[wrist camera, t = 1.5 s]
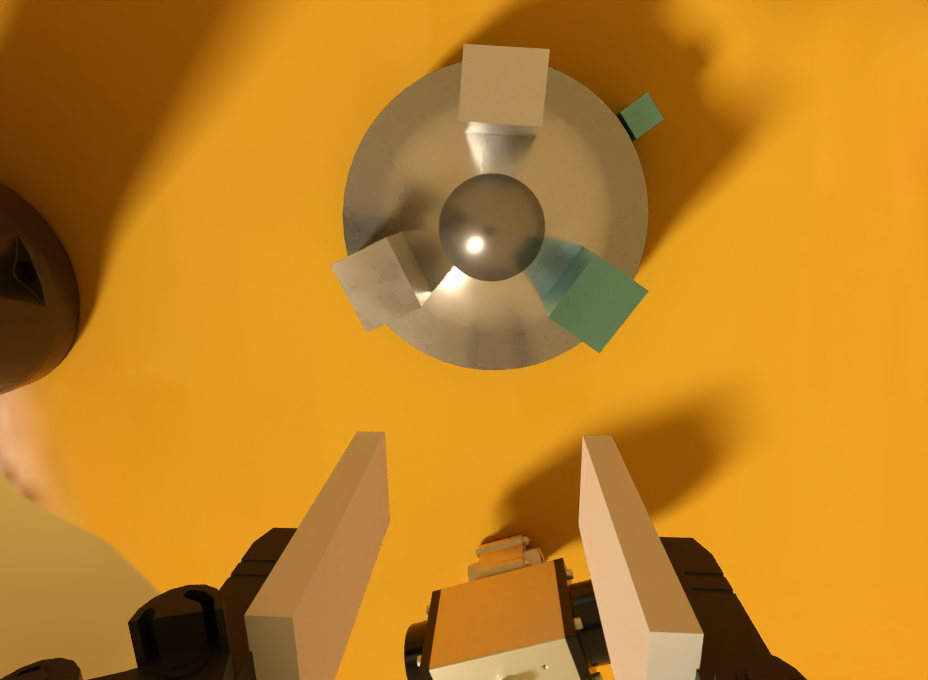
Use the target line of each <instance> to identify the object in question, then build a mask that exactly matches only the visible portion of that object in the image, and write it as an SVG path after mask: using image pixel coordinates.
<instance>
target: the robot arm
mask: <svg viewBox="0 0 928 680" xmlns="http://www.w3.org/2000/svg"><path fill="white" fill-rule="evenodd" d="M78 316H79V299H78V291H77V285H76V280H75V276H74V273H73V270H72V267H71V264H70V262H69V259H68V257H67V255H66V252H65V250H64V249H63V247H62V245H61V243H60V241H59V240H58V238H57V236H56V235H55V233H54V232H53V231H52V229H51V228H50V226H49V225H48V224H47V223H46V221H45V220H44V219H43V218H42V217H41V216H40V215H39V213H38V212H37V211H36V210H35V209H34V208H33V207H32V206H30V205H29V204H28V203H27V202H26V201H25V200H23V199H22V198H21V197H20V196H18V195H17V194H16V193H14V192H13V191H11V190H10V189H8V188H6V187H5V186H3V185H1V184H0V395H1V394H4V393H7V392H10V391H12V390H15V389H17V388H20V387H22V386H25V385H28V384H30V383H33V382H35V381H37V380H39V379H41V378H42V377H44V376H46V375H47V374H48V373H50V372H51V371H52V370H53V369H54V368H55V367H56V366H57V365H58V364H59V363H60V362H61V361H62V359H63V358H64V357H65V355H66V354H67V352H68V350H69V348H70V346H71V344H72V342H73V339H74V336H75V333H76V329H77V324H78ZM389 522H390V513H389V496H388V479H387V462H386V445H385V432H357V433H356V435H355V436H354V438H353V439H352V441H351V443H350V444H349V446H348V448H347V449H346V451H345V452H344V454H343V456H342V457H341V459H340V461H339V462H338V464H337V465H336V467H335V469H334V470H333V472H332V474H331V475H330V477H329V478H328V480H327V482H326V483H325V485H324V487H323V488H322V490H321V491H320V493H319V495H318V496H317V498H316V500H315V501H314V503H313V504H312V506H311V508H310V509H309V511H308V513H307V514H306V516H305V517H304V519H303V521H302V522H301V524H300V526H299V527H298V528H272V529H271V530H270V531H268V532H267V533H266V534H264V535H263V536H262V537H260V538H259V539H258V540H256V541H255V542H254V543H253V544H252V545H251V547H250V548H249V550H248V551H247V552H246V554H245V555H244V556H243V558H242V559H241V563H238V565H237V566H236V568H235V569H234V570H233V572H232V573H231V577H230V578H228V579H227V580H226V582H225V583H224V584H223V586H222V587H221V588H220V590H219V591H218V589H216V588H213V587H210V586H208V585H187V586H183V587H179V588H175V589H171V590H169V591H167V592H165V593H163V594H161V595H159V596H156V597H154V598H153V599H151V600H150V601H149V602H148V603H146V604H145V605H143V606H142V607H141V608H139V609H138V610H137V612H136V613H135V614H134V615H133V617H132V618H131V619H130V621H129V622H128V625H129V630H130V634H131V639H132V643H133V648H134V653H135V657H136V662H137V666H138V668H135V669H132V670H128V671H125V672H120V673H116V674H111V675H107V676H103V677H98V678H93V679H89V680H335V678H336V675H337V672H338V669H339V666H340V663H341V660H342V658H343V655H344V652H345V649H346V646H347V643H348V640H349V637H350V634H351V632H352V629H353V626H354V623H355V620H356V617H357V614H358V611H359V608H360V605H361V603H362V600H363V597H364V594H365V591H366V588H367V585H368V582H369V579H370V577H371V574H372V571H373V568H374V565H375V562H376V559H377V556H378V553H379V551H380V548H381V545H382V542H383V539H384V536H385V533H386V530H387V527H388V525H389ZM579 529H580V534H581V538H582V542H583V546H584V551H585V555H586V559H587V563H588V568H589V572H590V576H591V581H592V585H593V589H594V593H595V598H596V602H597V606H598V610H599V615H600V619H601V623H602V627H603V632H604V636H605V640H606V644H607V649H608V653H609V657H610V661H611V666H612V670H613V674H614V679H615V680H807V679H806V678H805V677H804V676H803V675H802V674H801V673H800V672H799V671H798V670H797V669H796V668H794V667H792V666H791V665H789V664H788V663H786V662H784V661H783V660H781V659H780V658H778V657H776V656H773V655H771V654H770V652H769V650H768V648H767V647H766V645H765V643H764V642H763V640H762V638H761V637H760V635H759V633H758V631H757V630H756V628H755V626H754V625H753V623H752V621H751V620H750V618H749V616H748V615H747V613H746V611H745V609H744V608H743V606H742V604H741V603H740V601H739V599H738V598H737V596H736V594H733V589H732V587H731V586H730V584H729V582H728V581H727V579H726V577H724V576H723V572H722V570H721V569H720V567H719V565H718V564H717V562H716V560H715V559H714V557H713V555H712V554H711V553H710V552H709V551H707V550H706V549H705V548H704V547H703V546H701V545H700V544H699V543H698V542H697V541H695V540H694V539H693V538H676V537H659V536H658V534H657V532H656V530H655V528H654V525H653V523H652V521H651V519H650V517H649V515H648V512H647V510H646V508H645V506H644V504H643V502H642V499H641V497H640V495H639V493H638V491H637V489H636V487H635V484H634V482H633V480H632V478H631V476H630V474H629V471H628V469H627V467H626V465H625V463H624V461H623V458H622V456H621V454H620V452H619V450H618V448H617V445H616V443H615V441H614V439H613V437H612V436H608V435H583V440H582V462H581V483H580V505H579ZM0 680H83V679H82V675H81V671H80V668H79V667H78V666H77V665H76V663H75V662H74V661H72V660H68V659H64V658H55V659H47V660H41V661H38V662H35V663H33V664H30V665H28V666H24V667H22V668H20V669H18V670H16V671H14V672H13V673H11V674H9V675H7V676H5V677H4V678H2V679H0Z"/></svg>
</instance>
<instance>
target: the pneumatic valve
mask: <svg viewBox="0 0 928 680" xmlns="http://www.w3.org/2000/svg"><path fill="white" fill-rule="evenodd" d="M529 542H530V539H529V537H528V538H527V536H524V537H523V536H522V535H521V534H520V535H516V536H512V537H509V538H505V539H501V540H498V541H494V542H490V543H486V544H483V545H480V546H479V549H477V550H476V553H477V556H478V558H479V557H480V560H479V562H478V563H474V564H472V565H470V566H468V579H469V582H467V583H464V584H460V585H456V586H452V587H448V588H444V589H440V590H437V591H433V593H432V598H431V604H430V605H428V606H427V607H426V610H427V614H428V620H426V621H422V622H418V623H414V624H412V625H411V626H410V627H409V628H408V630H407V633H406V637H405V645H404V660H405V669H406V675H407V679H408V680H603V679H602V676H601V673H600V672H597V671H596V667H598V666H602V665H607V664H611V661H610V657H609V653H608V649H607V644H606V640H605V636H604V632H603V627H602V623H601V619H600V615H599V610H598V606H597V602H596V598H595V593H594V589H593V585H592V581H591V579H590V580H586V581H582V582H578V583H574V584H572V581H571V579H573V578H574V577H573V573H572V570H571V569H569V570H567V568H566V565H565V562H564V559H563V558H560V559H556V560H552V561H548V562H545V560H544V557H543V554H542V552H541V549H540V548H539V547H535V548H531V549H526V547H525V545H528V544H529Z"/></svg>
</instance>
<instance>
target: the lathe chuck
mask: <svg viewBox="0 0 928 680" xmlns="http://www.w3.org/2000/svg"><path fill="white" fill-rule="evenodd" d="M549 54H550V49H542V48H525V47H509V46H492V45H476V44H463V58H462V62H460V63H456V64H453V65H450V66H447V67H443V68H441V69H439V70H437V71H435V72H433V73H431V74H428V75H426V76H424V77H423V78H421V79H419V80H418V81H416V82H415V83H413V84H412V85H410V86H409V87H407V88H406V89H405V90H403V91H402V92H401V93H400V94H399V95H398V96H397V97H395V98H394V99H393V100H392V101H391V102H390V103H389V104H388V105H387V106H386V107H385V108H384V110H383V111H382V112H381V113H380V114H379V115H378V116H377V117H376V119H375V120H374V122H373V123H372V125H371V126H370V128H369V129H368V131H367V132H366V134H365V135H364V137H363V139H362V141H361V143H360V145H359V147H358V149H357V151H356V153H355V156H354V159H353V162H352V165H351V168H350V171H349V174H348V178H347V183H346V188H345V193H344V206H343V226H344V237H345V243H346V248H347V254H348V257H346V258H344V259H342V260H340V261H338V262H336V263H334V264H332V265H331V267H332V269H333V271H334V273H335V275H336V277H337V278H338V280H339V282H340V284H341V286H342V288H343V290H344V291H345V293H346V295H347V297H348V299H349V301H350V303H351V304H352V306H353V308H354V310H355V312H356V314H357V316H358V317H359V319H360V321H361V323H362V325H363V327H364V329H365V330H366V332H369V331H371V330H373V329H375V328H378V327H380V326H382V325H384V324H387V325H388V326H389V327H390V328H391V329H392V330H393V331H394V332H395V333H396V334H397V335H398V336H400V337H401V338H402V339H404V340H405V341H406V342H408V343H409V344H410V345H412V346H413V347H415V348H417V349H419V350H420V351H422V352H424V353H426V354H427V355H430V356H432V357H434V358H437V359H439V360H441V361H444V362H447V363H451V364H454V365H458V366H461V367H467V368H473V369H480V370H506V369H516V368H521V367H526V366H530V365H535V364H538V363H541V362H543V361H546V360H549V359H552V358H554V357H556V356H558V355H560V354H562V353H564V352H566V351H568V350H570V349H572V348H573V347H575V346H576V345H578V344H579V343H581V342H582V341H583V342H584V343H586V344H587V345H589V346H590V347H592V348H593V349H594V350H596V351H597V352H599V353H600V352H601V350H602V349H603V348H604V347H605V345H606V344H607V343H608V342H609V340H610V339H611V338H612V336H613V335H614V334H615V333H616V331H617V330H618V329H619V328H620V326H621V325H622V324H623V323H624V321H625V320H626V319H627V318H628V316H629V315H630V314H631V313H632V311H633V310H634V309H635V308H636V306H637V305H638V304H639V303H640V301H641V300H642V299H643V298H644V296H645V295H646V294H647V293H648V290H646V289H645V288H643V287H642V286H641V285H639V284H638V283H636V282H635V281H633V280H634V278H635V275H636V273H637V270H638V267H639V264H640V262H641V259H642V255H643V251H644V247H645V242H646V238H647V228H648V217H649V214H648V194H647V188H646V182H645V176H644V172H643V169H642V166H641V163H640V160H639V156H638V154H637V151H636V149H635V147H634V145H633V143H632V141H631V139H630V137H629V135H628V133H627V132H626V130H625V128H624V127H623V125H622V124H621V122H620V121H619V119H618V118H617V116H616V115H615V114H614V113H613V112H612V111H611V110H610V108H609V107H608V106H607V105H606V104H605V103H604V102H603V101H602V100H601V99H600V98H599V97H598V96H597V95H596V94H594V93H593V92H592V91H591V90H590V89H589V88H587V87H586V86H584V85H583V84H581V83H580V82H578V81H577V80H575V79H574V78H572V77H570V76H569V75H567V74H565V73H562V72H560V71H558V70H556V69H553V68H551V67H549V66H548V64H549Z"/></svg>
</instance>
